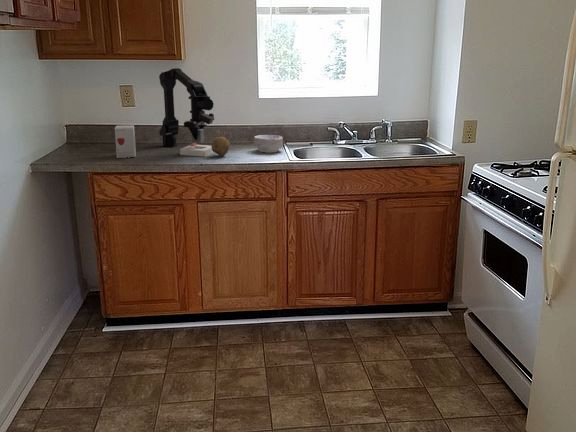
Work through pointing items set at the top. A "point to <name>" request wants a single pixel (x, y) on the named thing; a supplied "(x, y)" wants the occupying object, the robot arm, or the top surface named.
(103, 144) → the top surface
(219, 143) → the natural sponge
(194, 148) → the socket plate
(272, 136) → the white bowl
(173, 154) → the top surface
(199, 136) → the plug
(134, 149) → the supplement box
